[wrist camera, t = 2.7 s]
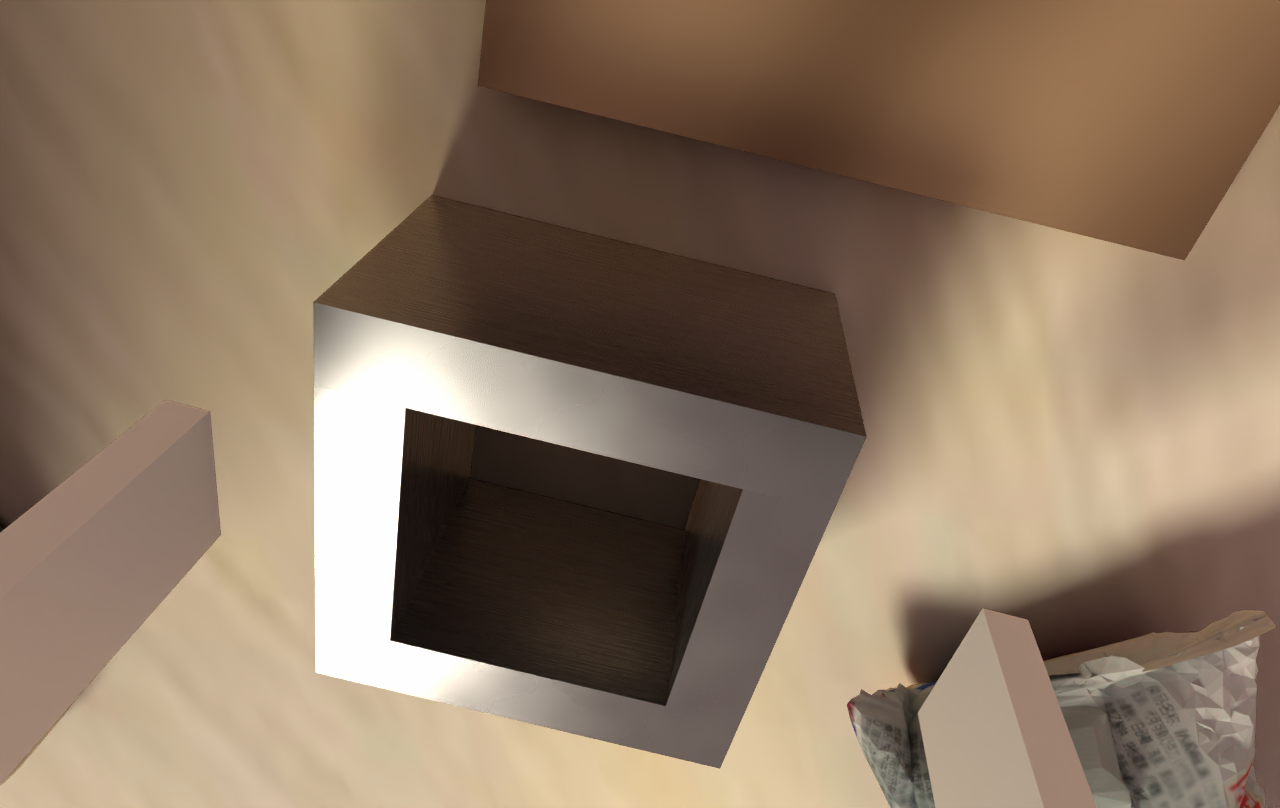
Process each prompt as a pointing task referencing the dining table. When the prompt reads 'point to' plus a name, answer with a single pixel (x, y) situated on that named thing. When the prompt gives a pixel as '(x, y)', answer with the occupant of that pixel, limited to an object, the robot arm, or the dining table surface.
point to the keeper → (933, 94)
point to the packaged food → (1118, 720)
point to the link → (557, 530)
